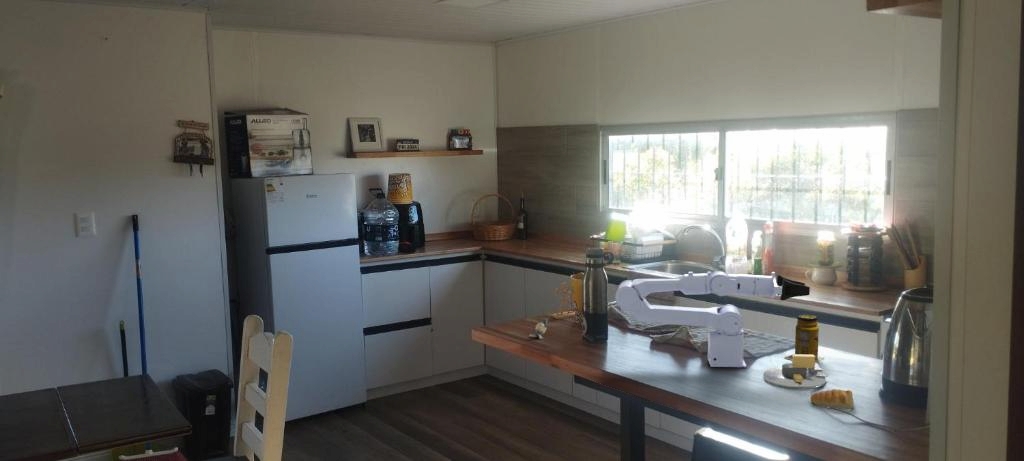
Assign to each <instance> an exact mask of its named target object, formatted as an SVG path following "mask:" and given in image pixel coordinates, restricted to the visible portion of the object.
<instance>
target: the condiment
mask: <svg viewBox="0 0 1024 461" xmlns="http://www.w3.org/2000/svg"><path fill="white" fill-rule="evenodd" d="M796 319H797V321H796V325H795V335H794V337H795V339H794V342H795V344H794V354H806V355H814V356H815V362H818V361H820V360H824V359H825V357H821V356H819V334H820V333H819V332H820V330H819V326H818V325H819V324H818V317H817V316H816V315H813V314H799V315H798V316H797V318H796ZM783 358H784V359H787V360H791V361H792V354H791V355H788V356H783Z"/></svg>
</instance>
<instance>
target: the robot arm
mask: <svg viewBox="0 0 1024 461" xmlns="http://www.w3.org/2000/svg"><path fill="white" fill-rule="evenodd" d="M810 290H811V287H810V286H806V283H804V282H801V281H798V280H794V279H790V278H786V277H784V276H782V275H780V274H777V275H776V272H775V271H772V272H771V275H761V274H760V275H759V274H744V273H743V274H741V273H736V274H734V273H726V272H724V271H719V270H715V271H707V273H706V272H704V273H694V271H688V273H684V274H682V276H681V277H680V278H635V279H633V280H632V279H627V280H623V281H622V282H620V284H618V287H617V290H616V292H615V298H614V299H615V302H616V303H617V305H618V306H619V308H620V309H621V311H622V312H625V313H626V314H629V315H630V316H632V317H633V318H634V319H636V320H638V321H639V322H641V323H648V324H660V325H662V324H664V325H676V326H691V327H693V326H694V327H706V328H708V329H709V328H710V329H712V330H714V331H709V332H708V335H707V360H708V363H709V365H710V367H712V368H713V367H714V368H716V367H717V368H747V364H746V362H745V359H744V330H743V325H744V320H743V318H742V315H741V311H740V309H739V308H738V306H735V305H734V304H724V305H722V306H712V307H709V308H708V307H707V308H704V307H690V306H688V307H687V306H671V305H659V304H658V305H657V304H650V303H649V302H648V301H647V299H646V297H647V296H648V295H650V294H653V293H662V292H674V291H675V292H678V291H680V292H681V293H683V295H686V296H687V295H688V296H689V295H690V296H691V295H709V294H711V293H713V294H715V295H717V296H718V297H724V296H727V295H736V296H747V297H761V298H762V297H763V298H764V297H765V298H770V299H775V297H776V295H777V296H780V298H779V300H781V301H786V300H789V299H792V298H797V297H806V296H810V292H811V291H810Z"/></svg>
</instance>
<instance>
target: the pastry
mask: <svg viewBox="0 0 1024 461" xmlns="http://www.w3.org/2000/svg"><path fill="white" fill-rule="evenodd" d="M810 402H811V403H812V404H814V405H815V406H817V405H818V407H823V406H824V408H827V407H829V408H828V409H834V408H838V409H837V410H843V409H852V410H854V408H855V401H854V398H853V391H852V390H850V389H848V390H843V389H836V388H835V389H831V390H830V389H828V390H824V391H823V390H822V391H820V392H818V391H817V392H814V393H813V394H812V395H811V396H810Z"/></svg>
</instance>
